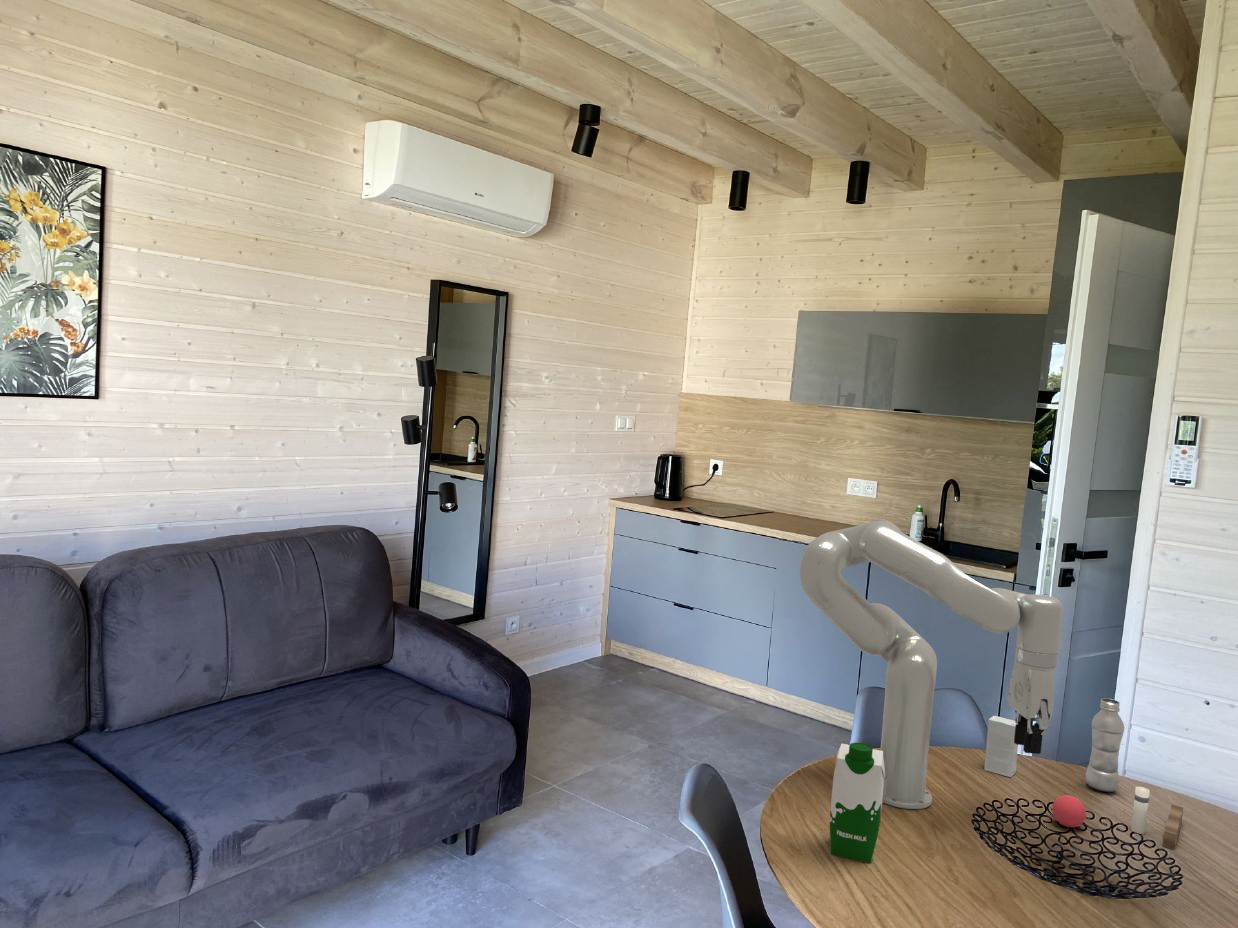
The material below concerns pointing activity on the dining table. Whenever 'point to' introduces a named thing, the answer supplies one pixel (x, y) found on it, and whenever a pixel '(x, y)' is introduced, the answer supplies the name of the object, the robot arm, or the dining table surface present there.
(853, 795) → the milk carton
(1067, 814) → the ball
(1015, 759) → the skincare box
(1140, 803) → the pin
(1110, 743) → the plastic bottle
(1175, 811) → the board
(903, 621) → the robot arm
